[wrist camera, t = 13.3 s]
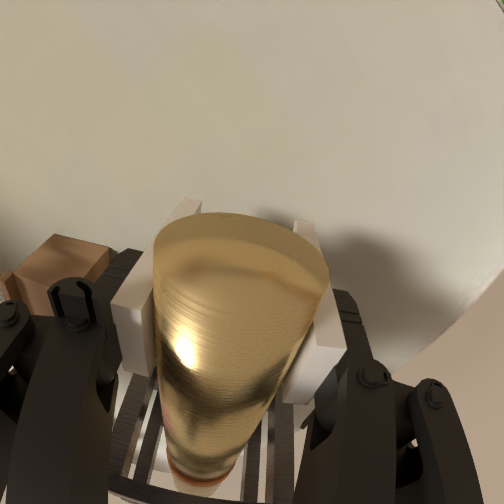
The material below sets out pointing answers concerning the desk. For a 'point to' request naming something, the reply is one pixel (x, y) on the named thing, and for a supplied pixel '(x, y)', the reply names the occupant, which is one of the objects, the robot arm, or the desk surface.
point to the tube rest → (53, 271)
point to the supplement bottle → (501, 3)
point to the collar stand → (127, 433)
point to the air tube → (226, 333)
